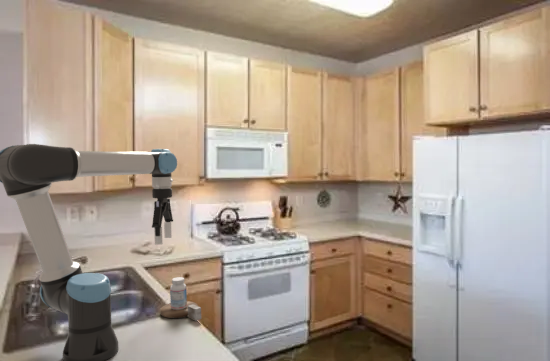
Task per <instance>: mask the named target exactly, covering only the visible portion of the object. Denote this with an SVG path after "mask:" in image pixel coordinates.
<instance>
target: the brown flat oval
mask: <svg viewBox="0 0 550 361" xmlns="http://www.w3.org/2000/svg"><path fill="white" fill-rule="evenodd" d="M159 311H160V315H161V316H162V317H164V318H170V319H179V318H180V319H181V318H186V317H187V318H189V319H191V320H193V321H199V320H202V307H201V306H199V305H198V303H196V302H194V301H189V300H187V307H186V308H184V309H181V310H173V309H171V302H170V303H167V304H164V305H163V306H161V308H160V310H159Z"/></svg>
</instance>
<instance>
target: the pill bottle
mask: <svg viewBox="0 0 550 361" xmlns="http://www.w3.org/2000/svg"><path fill="white" fill-rule="evenodd" d="M169 291H170V292H169V294H170V295H169V296H170V303H171V309H173V310H181V309H184V308H186V307H187V301H188V300H187V299H188V298H187V293H188V292H187V284H186V283H185V278H184V277H182V276H180V277H179V276H178V277H173V278H172V279H171V285H170V290H169Z"/></svg>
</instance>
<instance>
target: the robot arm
mask: <svg viewBox="0 0 550 361" xmlns="http://www.w3.org/2000/svg"><path fill="white" fill-rule="evenodd" d="M177 168H178V159H177V156H176V155H175V154H174V153H172V152H171V150H170V149H168V148H152V149H151V151H150V152H148V151H104V150H103V151H99V150H95V151H94V150H93V151H90V150H86V151H85V150H75V149H74V147H66V146H64V147H63V146H54V145H47V144H38V143H26V144H17V145H11V146H7V147H6V148H2V149H1V150H0V183H1V184H2V185H3V188H4V190H5V191H4V192H6V196H7V197H8V198H10V199H12V200H15V203H16V205H17V206H18V210H19V212H20V215H21V218H22V221H23V223H24V225H25V229H26V232H27V234H28V236H29V240H30V241H31V242H30V243H31V244H32V247H33V250H34V252H35V254H36V258H37V260H38V261H37V262H39V263H38V264H39V265H40V269H41V270H42V271H41V273H40V275H39V277H38V278H39V283H40V284H41V285H40V288H39V296H40V298H41V301H42V302H43V303H44V304H45V305H46V306H47V307H49V308H50V309H52V310H56V311H59V312H60V313H62V314H65V315H67V319H68V320H67V321H68V323H67V324H68V333H67V337H66V340H65V344H64V347H63V350H62V361H107V360H109V359H111V358H112V357H113V356H115V355H116V354H118V351H119V340H118V337H117V335H116V333H115V330H114V328H113V325H112V298H111V297H112V294H111V292H112V288H111V287H112V286H111V283H110V279H109V277H108V276H107V275H105V274H103V273H99V272H95V273H94V272H83V270H82V268H81V265H80V262H78V261H75V260H73V259H72V256H71V253H70V252H71V251H70V250H69V246H68V244H67V241H66V238H65V235H64V232H63V230H62V227H61V224H60V222H59V218H58V216H57V212H56V210H55V209H56V208H55V207H54V203H53V201H52V199H51V195H50V193H49V190H50V188H51V187H52V183H59V182H67V181H69V182H70V181H74V180H76V179H77V178H78V177H79V178H80V177H84V178H85V177H103V176H104V177H105V176H106V177H107V176H124V175H126V176H128V175H129V176H130V175H131V176H132V175H147V174H148V175H151V187H152V189H151V190H152V191H151V193H152V198H153V199H157V200H156V201H154V203H153V204H154V208H153V216H152V224H151V228H154V230H153V231H154V245H156V246H157V245H163V226H164V238H165V239H172V236H173V235H172V223H173V222H174V219H173V214H172V213H173V212H172V208H171V199H170V198H172V197H173V189H172V188H171V187H172V186H173V185H172V184H173V183H172V182H174V180H173V179H172V173H174V172H175V171H176V169H177ZM163 218H164V223H163ZM162 224H164V225H163V226H162Z"/></svg>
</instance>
